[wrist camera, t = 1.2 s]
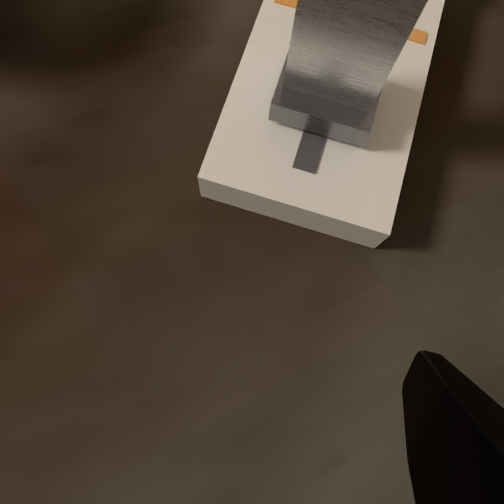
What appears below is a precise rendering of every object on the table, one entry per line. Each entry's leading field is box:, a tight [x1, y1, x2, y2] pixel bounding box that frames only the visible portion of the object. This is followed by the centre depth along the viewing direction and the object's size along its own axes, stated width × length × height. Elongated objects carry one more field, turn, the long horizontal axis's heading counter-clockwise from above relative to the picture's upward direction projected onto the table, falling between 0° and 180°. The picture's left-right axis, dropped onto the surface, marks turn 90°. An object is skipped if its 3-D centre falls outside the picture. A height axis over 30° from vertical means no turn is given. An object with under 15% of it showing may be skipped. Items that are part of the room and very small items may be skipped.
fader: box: [268, 0, 428, 147], centre depth 18 cm, size 4×6×10 cm
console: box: [198, 0, 445, 249], centre depth 24 cm, size 18×10×4 cm, turn 163°
